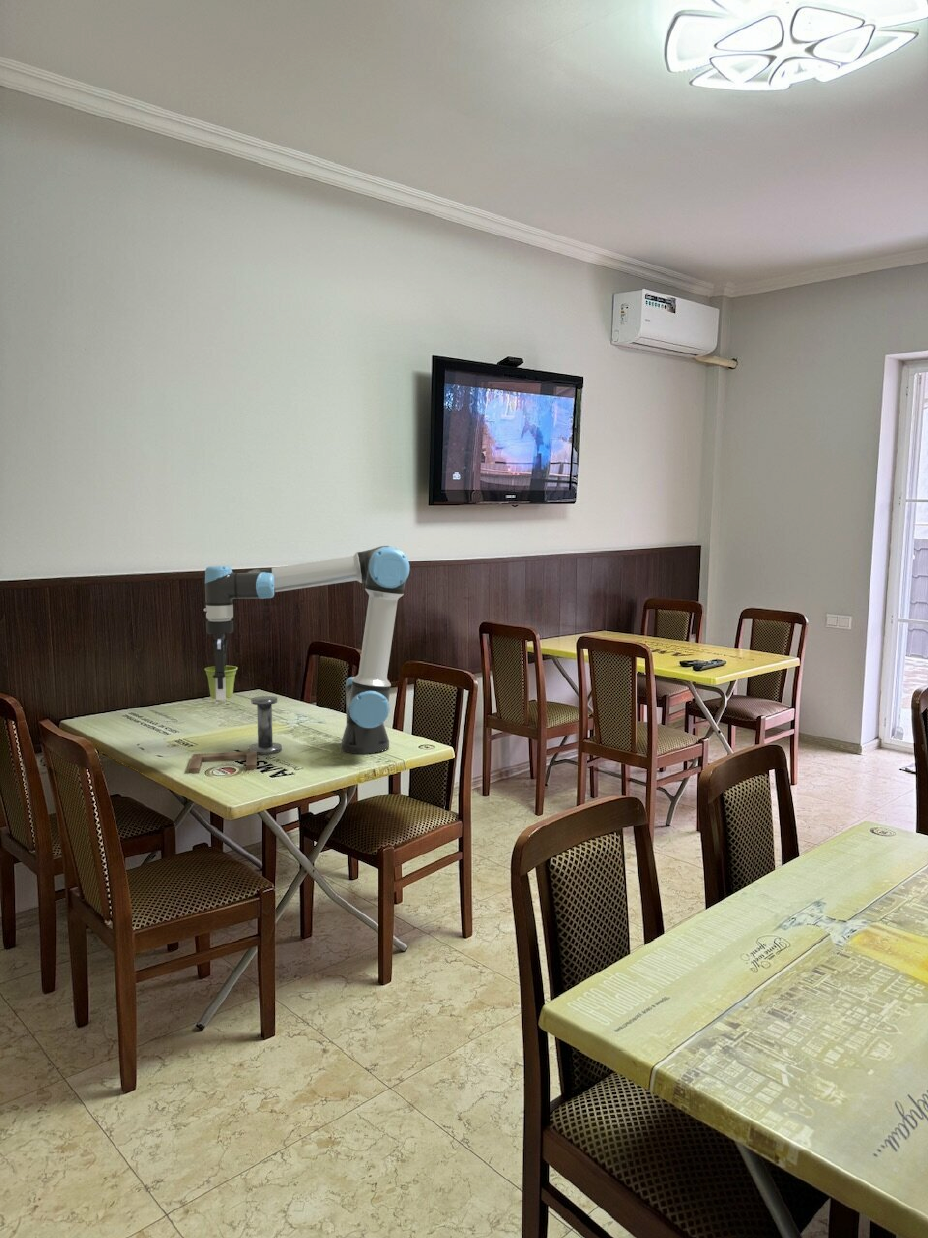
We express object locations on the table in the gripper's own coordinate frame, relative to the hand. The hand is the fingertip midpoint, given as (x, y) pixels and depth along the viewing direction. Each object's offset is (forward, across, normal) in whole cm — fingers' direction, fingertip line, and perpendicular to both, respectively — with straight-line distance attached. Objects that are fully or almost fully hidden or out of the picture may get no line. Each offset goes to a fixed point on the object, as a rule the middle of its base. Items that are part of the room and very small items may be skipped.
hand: (221, 696), depth 259 cm
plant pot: (0, 0, 0) cm, 0 cm away
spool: (+21, -15, +12) cm, 28 cm away
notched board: (+21, -2, 0) cm, 21 cm away
